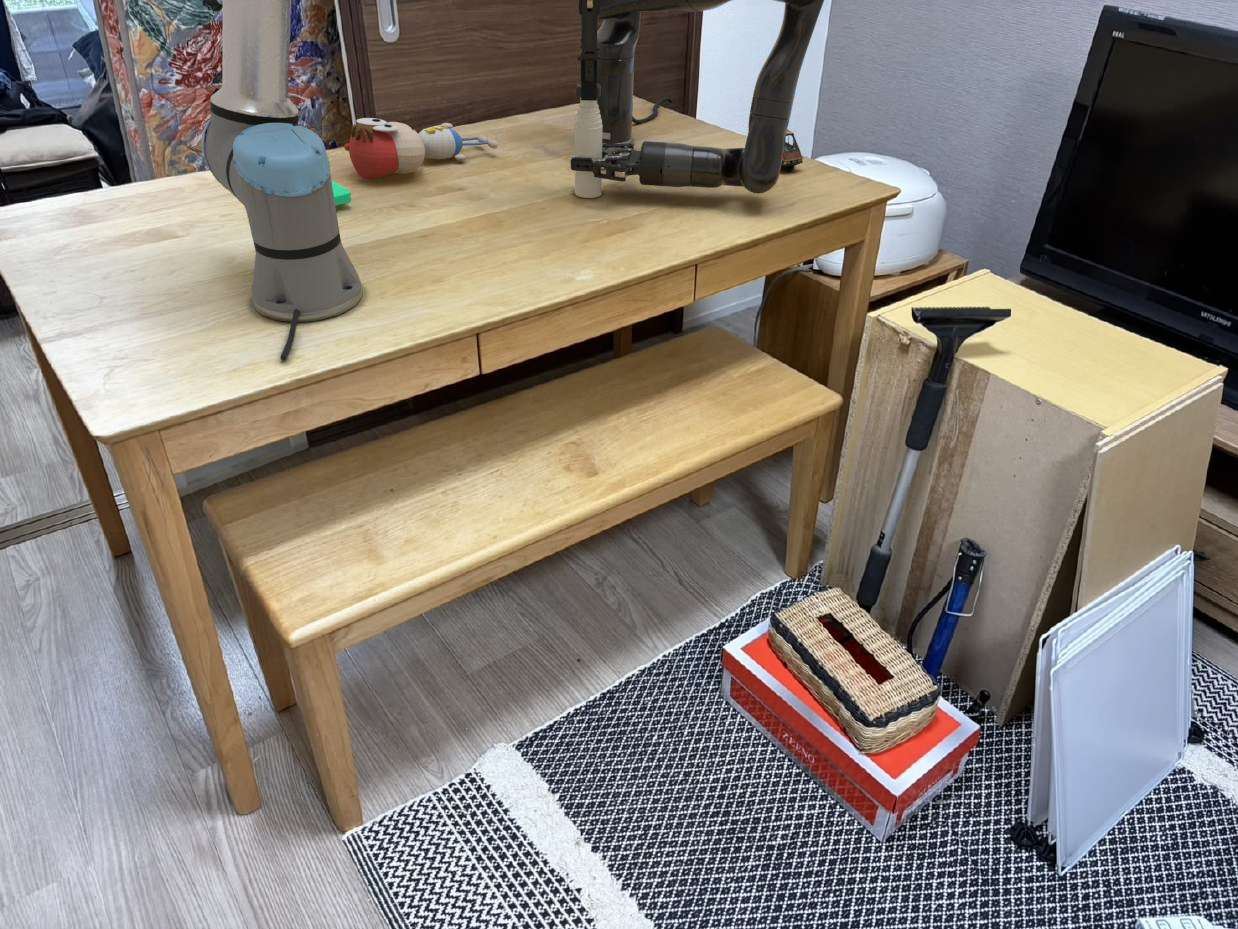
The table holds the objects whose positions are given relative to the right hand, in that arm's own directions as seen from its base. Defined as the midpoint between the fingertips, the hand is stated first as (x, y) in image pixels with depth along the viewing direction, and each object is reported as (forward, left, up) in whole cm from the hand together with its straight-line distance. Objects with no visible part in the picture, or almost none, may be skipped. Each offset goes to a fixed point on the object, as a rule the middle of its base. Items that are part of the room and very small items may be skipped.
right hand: (574, 158), depth 168 cm
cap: (0, +3, +13) cm, 13 cm away
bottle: (0, +3, -6) cm, 7 cm away
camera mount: (+14, -44, -6) cm, 46 cm away
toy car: (-23, +37, -6) cm, 44 cm away
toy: (-9, -31, -6) cm, 33 cm away
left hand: (0, +3, +11) cm, 11 cm away
